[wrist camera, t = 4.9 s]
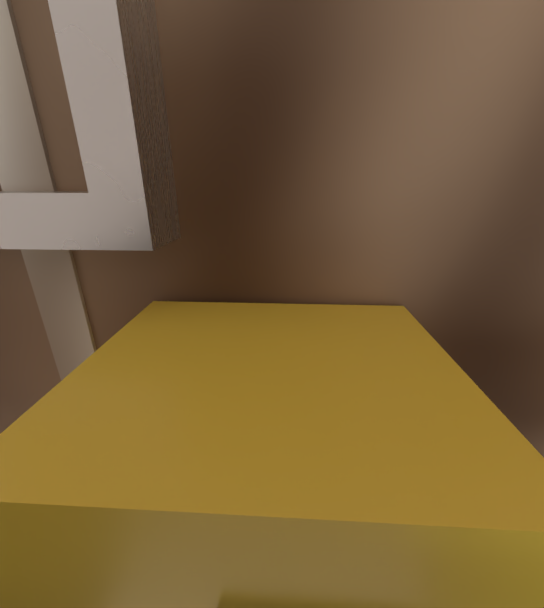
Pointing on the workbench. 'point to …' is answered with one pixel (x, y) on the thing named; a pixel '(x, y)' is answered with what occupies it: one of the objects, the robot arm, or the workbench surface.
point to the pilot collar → (106, 138)
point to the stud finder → (269, 470)
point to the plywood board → (304, 180)
